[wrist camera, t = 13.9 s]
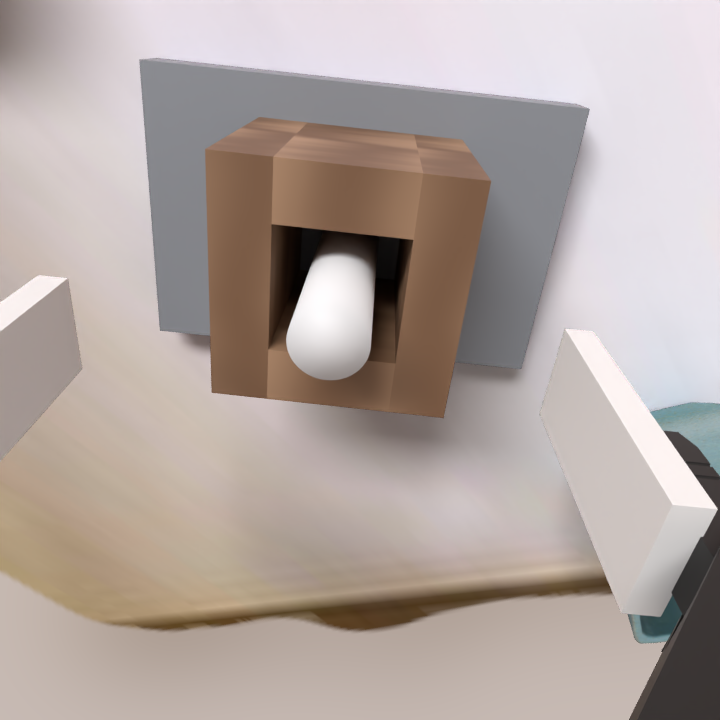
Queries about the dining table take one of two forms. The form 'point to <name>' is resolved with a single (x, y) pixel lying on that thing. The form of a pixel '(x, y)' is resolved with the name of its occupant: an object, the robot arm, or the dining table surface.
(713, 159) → the dining table surface
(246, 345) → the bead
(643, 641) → the flower pot
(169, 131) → the spindle stand
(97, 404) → the dining table surface
